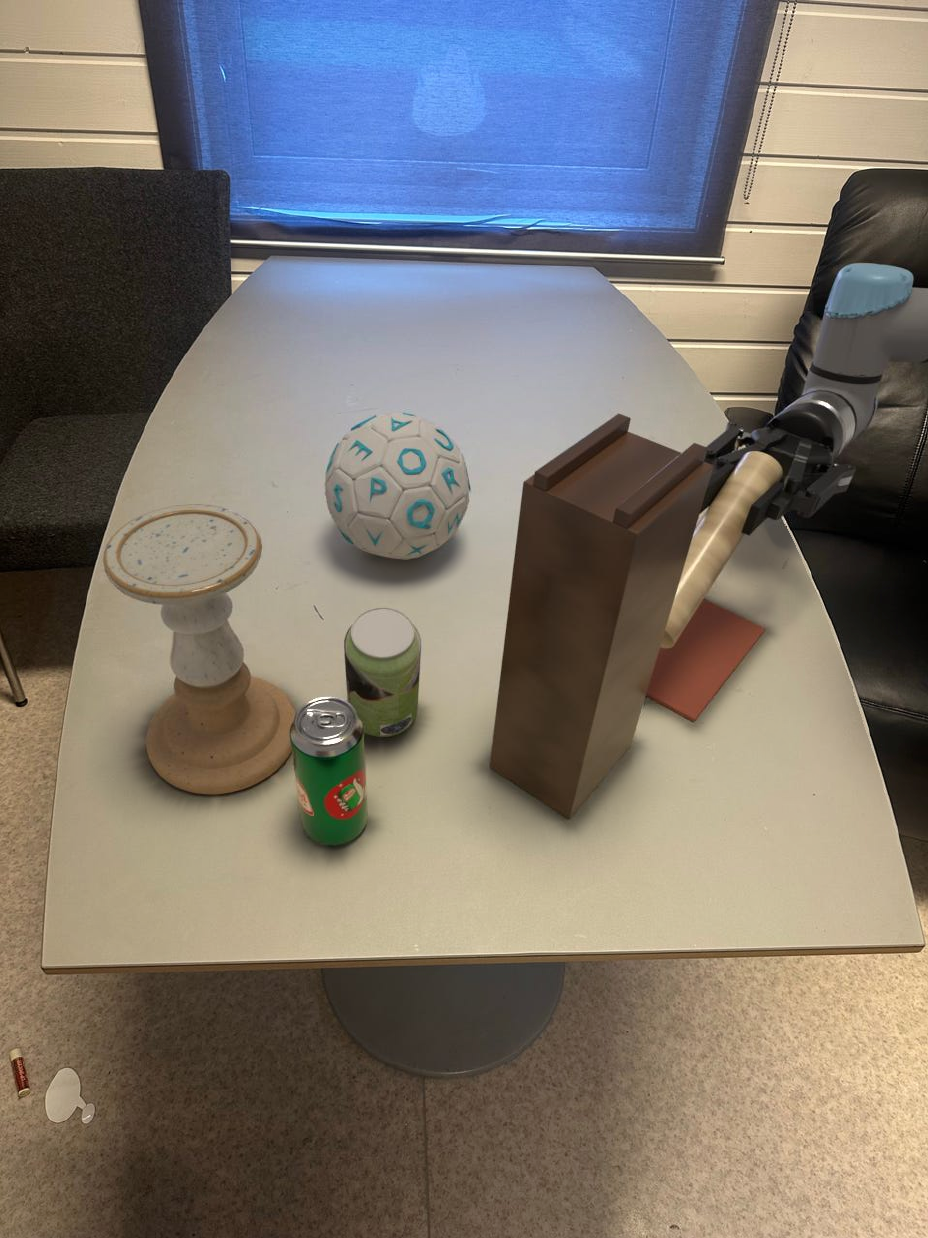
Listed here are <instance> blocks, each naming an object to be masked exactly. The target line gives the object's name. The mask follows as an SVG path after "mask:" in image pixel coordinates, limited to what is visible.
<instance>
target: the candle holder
mask: <svg viewBox="0 0 928 1238" xmlns="http://www.w3.org/2000/svg"><path fill="white" fill-rule="evenodd" d="M262 549H263V543H262V538H261V535H260V532H259V531H258V528H257V527H256V526H255V524H254V523H253V522H252V521H251V520H250V519H248V518H247V517H246V516H244V515H242V514H241V513H239V512H237V511H234V510H232V509H230V508H226V507H222V506H217V505H212V504H203V503H196V504H192V503H191V504H190V503H188V504H179V505H172V506H167V507H166V506H165V507H163V508H159V509H155V510H152V511H149V512H146V513H144V514H142V515H140V516H137V517H135V518H134V519H132V520H130V521H129V522H127V523H125V524H124V525H123V526H122V527H120V528H119V529H118V530H117V531H116V532H115V533H114V534H113V535H112V536H111V537H110V539H109V540H108V542H107V544H106V545H105V549H104V551H103V556H102V557H103V559H102V562H103V567H104V572H105V574H106V576H107V578H108V580H109V581H110V583H111V584H112V585H113V586H114V587H115V588H116V589H117V590H118V591H119V592H121V593H122V594H123V595H125V596H127V597H129V598H131V599H133V600H136V601H140V602H142V603H148V604H152V605H161V609H160V617H161V621H162V623H163V624H164V625H165V626H166V627H167V628H168V629H169V630H170V631H172V641H171V647H170V653H169V665H170V668H171V671H172V673H173V674H174V676H175V677H174V681H173V691H174V693H173V694H172V695H171V696H170V697H169V698H167V699H165V701H164V702H163V703H161V705H160V706H159V708H158V709H157V710H156V712H155V713H154V714H153V716H152V719H151V721H150V722H149V725H148V728H147V733H146V735H145V737H146V738H145V739H146V740H145V741H146V742H145V746H146V751H147V757H148V759H149V761H150V763H151V765H152V767H153V769H154V771H156V772H157V774H158V775H159V776H160V777H161V778H162V779H163V780H164V781H165V782H166V783H168V784H170V785H171V786H173V787H175V788H178V789H180V790H182V791H185V792H188V793H189V792H190V793H194V794H197V795H198V794H199V795H221V794H230V793H234V792H238V791H241V790H244V789H247V788H250V787H252V786H254V785H257V784H258V783H260V782H262V781H263V780H265V779H267V778H269V776H271V775H272V774H273V773H275V772H276V771H278V769H279V768H280V767H282V765H283V764H284V763H285V762H286V761H287V760H288V758H289V756H290V755H291V754H292V750H291V742H290V727H291V724H292V722H293V720H294V718H295V715H296V713H297V711H296V709H295V707H294V705H293V703H292V701H291V700H290V698H289V697H288V696H287V694H286V693H284V692H283V690H282V689H280V688H279V687H277V686H276V685H274V684H273V683H271V682H269V681H268V680H264V679H262V678H259V677H255V676H252V675H251V672H250V668H249V666H248V664H246V663H245V662H244V658H245V650H244V647H243V644H242V642H241V640H240V639H239V637H238V636H237V635H236V633H235V631H234V630H233V627H232V626H231V625H230V624H231V623H229V621H228V620H229V618H230V617H231V615H232V613H233V601H232V599H231V597H230V596H229V594H228V592H230V591H232V590H235V588H237V587H239V586H240V585H241V584H243V583H244V582H245V581H246V580H248V578H249V577H250V576H251V575H252V574H253V573H254V571H255V570H256V568H257V567H258V565H259V562H260V559H261V557H262V551H263V550H262Z"/></svg>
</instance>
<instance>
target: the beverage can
mask: <svg viewBox="0 0 928 1238" xmlns="http://www.w3.org/2000/svg"><path fill="white" fill-rule="evenodd" d="M343 653H344V668H345V682H346V683H345V685H346V699H347V700H346V701H347V702H348V703H350V704H351V705H352V706H353V707H354V709H355V711H356V713H357V714H358V715H359V716H360V718H361V720H362V722H363V727H364V734H366V735H369V736H371V737H377V738H387V737H394V736H397V735H399V734H401V733H402V732H404V731H406V730H407V729H409V727H410V726H411V725H412V724H413V722H414V721H415V719H416V717H417V715H418V709H419V693H420V677H421V676H420V675H421V659H422V657H421V655H422V638H421V635H420V633H419V631H418V628H417V627H416V626H415V624H414V623H413V622H412V620H411V619H410V617H409V616H407V615H406V614H405V613H404V612H402V611H400V610H398V609H397V608H396V609H395V608H392V607H385V606H384V607H383V606H382V607H381V606H380V607H374V608H370V609H368V610H365V611H363V612H362V613H360V614H359V615H358V616H357V617H356V618H355V620H354V621H353V623H352V624H351V625H350V626H349V628H348V630H347V631H346V633H345V636H344V640H343Z"/></svg>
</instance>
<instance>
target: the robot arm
mask: <svg viewBox="0 0 928 1238" xmlns="http://www.w3.org/2000/svg"><path fill="white" fill-rule="evenodd" d="M913 284H914V275H913V273H912V272H911V271H910V270H908V269H905V268H903V267H898V266H895V265H889V264H878V263H869V262H856V263H855V262H854V263H850V264H847V265H845V266H844V267H842V268H841V269H840V270H839V271H838V273H837V274H836V277H835V279H834V282H833V285H832V287H831V290H830V292H829V295H828V299H827V302H826V304H825V307H824V312H823V317H822V320H821V325H820V328H819V333H818V337H817V342H816V345H815V349H814V354H813V357H812V361H811V363H810V366H809V368H808V372H807V375H806V379H805V383H804V386H803V390H802V392H801V396H800V397H799V398H797V399H796V400H795V401H793V402H792V403H790V404H789V405H787V407H785V408H783V410H781V411H780V412H779V413H778V414H776V415H775V416H774V417H773V418H772V419H770V420H769V421H768V422H767V423H766V425H765V426H764V427H763V428H757V429H754V430H753V431H751V433H750V432H746V431H745V429H744V428H741V427H740V423H738V422H736V421H728V422H727V424H726V427H725V430H724V432H722V433H721V434H719V436H717V437H716V438H715V439H713V441H711V442H710V443H709V444H707V445H706V447H707V448H708V449H707V453H706V456H705V460H704V462H706V463H708V464H711V465H713V470H712V474H711V477H710V480H709V484H708V487H707V491H706V494H705V497H704V501H703V504H702V507H701V511H700V514H699V515H701V514H703V512H705V511H706V510H707V509H708V507H709V506H710V504H711V503H712V501H713V500H714V498H715V497H716V495H717V494H718V493H719V491H720V490H721V488H722V487H723V485H724V484H725V482H726V481H727V479H728V478H729V476H730V475H731V473H732V472H733V470H734V469H735V467H736V466H737V464H738V463H739V461H740V460H741V458H742V457H743V455H744V454H746V453H748V452H752V451H758V452H762V453H765V454H768V455H770V456H771V457H773V458H774V459H775V460H776V461H777V462H778V463H779V464H780V466H781V467H782V470H783V476H782V478H781V479H784V481H783V483H782V482H780V481H779V482H776V483H775V484H773V485H772V486H771V487H770V488H769V489H768V490H767V491H766V492H765V493H764V494H763V495H762V496H761V497H760V498H759V499H757V500H756V501H755V502H754V503H753V504H752V505H751V508H750V511H749V513H748V516H747V518H746V521H745V524H744V526H743V529H742V532H741V533H744V534H745V535H746V536H749V537H750V536H751V535H752V534H753V533H754V532H755V531H756V530H757V529H758V528H759V527H760V526H761V525H762V524H763V523H764V522H765V521H766V520H767V519H771V520H773V521H778V520H780V519H782V518H783V516H784V515H785V514H786V513H790V511H792V510H793V511H797V515H798V516H799V517H802V518H803V519H809V518H811V517H812V516H813V515H814V514H815V513H817V511H818V510H820V509H821V507H823V506H824V505H825V504H826V503H827V502H828V501H829V500H830V499H832V497H833V496H834V495H837V494H842V493H845V492H847V490H848V488H849V485H850V483H851V481H852V479H853V477H854V474H855V473H856V470H857V467H856V465H853V464H852V463H842V464H839V463H838V462H837V463H836V462H834V461H835V460H836V459H837V458H838V457H839V456H840V455H841V454H842V453H843V452H844V451H845V449H847V447H848V446H849V445H850V444H851V443H852V442H853V441H854V440H856V439H857V438H858V437H860V436H861V434H863V433H864V432H865V431H866V429H867V428H869V426H870V424H871V423H872V421H873V418H874V416H875V414H876V412H877V409H878V404H879V397H878V389H879V386H880V383H881V381H882V379H883V375H884V373H885V369H886V368H887V365H888V363H890V362H895V363H896V362H897V363H898V362H901V363H923V364H926V363H928V288H927V287H925V288H924V287H913ZM743 446H745V447H743ZM742 447H743V448H742ZM739 448H740V449H739ZM817 477H819V478H818V479H817V480H815V481H814V482H813V483H812V484H811V485H810V486H809V487H808V488H807V489H806V491H803V490H799V489H800V487H801V485H802V483H803V481H807V480H808V481H809V480H811V479H813V478H817Z"/></svg>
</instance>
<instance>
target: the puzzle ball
mask: <svg viewBox="0 0 928 1238" xmlns="http://www.w3.org/2000/svg"><path fill="white" fill-rule="evenodd" d="M471 490H472V489H471V484H470V479H469V473H468V469H467V464H466V460H465V457H464V454H463V452H462V451H461V448H460V447H459V446H458V444H457V443H456V441H454V439H453V438H452V437H451V436H450V435H449V434H448V433H447V432H446V430H444V429H443V428H442V427H440V426H439V425H437V424H436V423H435V422H432V421H429V420H428V419H425V418H422V417H419V416H417V415H415V414H413V413H408V412H402V413H398V412H391V413H383V414H380V415H377V414H375V415H373V416H371V417H369V418H367V419H365V420H363V421H361V422H359V423H357V424H356V425H354V426H352V427H351V428H350V431H349V432H347V433H346V434H345V435H343V436H342V439H340V440H339V441H338V442H337V443H336V445H335V447H334V449H333V451H332V453H331V455H330V457H329V459H328V463H327V467H326V470H325V477H324V495H325V500H326V505H327V510H328V513H329V514H330V516H331V518H332V521H333V523H334V524H335V526H336V527H337V529H338V530H339V532H340V533H341V535H342V536H343V538H344V539H345V540H346V542H348V543H349V544H350V545H353V546H354V547H356V548H359V549H360V550H362V551H363V552H366V553H368V554H371V555H376V556H379V557H383V558H388V559H394V560H405V561H407V560H410V559H411V560H412V559H418V558H420V557H422V556H425V555H426V554H429V553H431V552H433V551H435V550H437V549H439V548H440V547H441V546H442V545H444V544H445V543H446V542H447V541H449V540H450V539H451V538H452V537H453V536H454V535H455V534H456V533H457V531H458V529H459V527H460V525H461V523H462V521H463V519H464V518H465V515H466V513H467V510H468V506H469V504H470V492H471Z"/></svg>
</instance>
